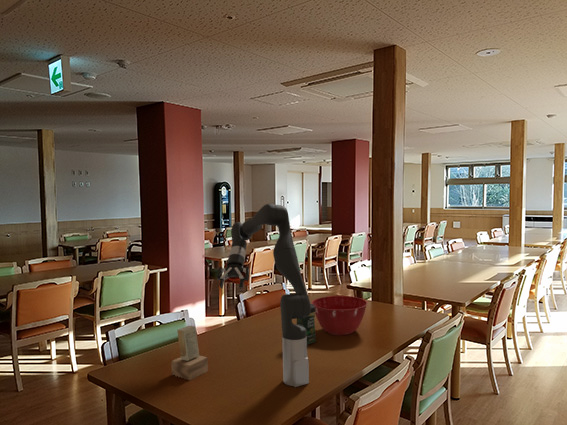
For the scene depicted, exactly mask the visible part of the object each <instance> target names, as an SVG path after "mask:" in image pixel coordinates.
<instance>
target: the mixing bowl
mask: <svg viewBox="0 0 567 425" xmlns="http://www.w3.org/2000/svg"><path fill="white" fill-rule="evenodd" d="M311 304H314V306H315V317H316V319H317V321H318V324H319V325H320V327H321V328H322V330H324V332H326V333H328V334H330V335H333V336H348V335H351V334H353V332H356V331H357V330H358V329H359V327H360V325H361V323H362V320H363V318H364V316H365V312H366V308H367V306H368V301H367V300H366V299H364V298H360V297H357V296H350V295H330V296H323V297H318V298H315V299H313V300H312V301H311Z"/></svg>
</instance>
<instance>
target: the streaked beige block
mask: <svg viewBox="0 0 567 425" xmlns="http://www.w3.org/2000/svg"><path fill="white" fill-rule="evenodd" d="M208 360H209V359H208V357H207V356H203V355H200V354H199V356H197V357H195V358H193V359H190V360H188V361H186V360H181V356H180V357H178V358H174V359H173V360H171V375H172V376H173V375H175V376H174V377H177V376H178V377H177V378H180V377H181V379H183V378H184V380H186V381H187V380H188V381H191V380H192V381H193V380H194V379H196V378H197V377H199V376H201V375H203V374H205V373H207V372H208V370H209V367H208V366H209V362H208Z"/></svg>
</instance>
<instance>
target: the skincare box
mask: <svg viewBox="0 0 567 425" xmlns="http://www.w3.org/2000/svg"><path fill="white" fill-rule="evenodd" d="M176 331H177V339H178V347H179V352H180V353H179V354H180V357H181V360H186V361H188V360H190V359H193V358H195V357H197V356H199V355H200V350H199V345H198V344H199V343H198V337H197V336H198V335H197V330H196V326H194V325H187V326H183V327H181V328H179V329H177V330H176Z"/></svg>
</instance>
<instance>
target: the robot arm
mask: <svg viewBox="0 0 567 425" xmlns="http://www.w3.org/2000/svg"><path fill="white" fill-rule="evenodd" d="M263 225H267V226H271V227H272V226H274V227H277V228H278V234H279V235H278V238H277V241H276V243H275V245H274V247H273V251H272V255H273V259H274V260H273V261H274V264H275V267H276V269H277V271H278V272H279V273H280V274H281V275H282V276H283V277H284V278H285V280H287V281H288V282H289V284H290V285H291V287H292V288H293V290H294V293H289V294H287V293H285V294H282V296H281V298H280V305H279V306H280V318H281V320H280V321H281V332H282V333H281V334H282V338H281V339H282V377H283V378H282V381H283V384H285V385H287V386H291V387H294V388H297V387H301V386H304V385H307V384H310V379H309V378H310V374H309V372H310V370H309V358H308V345H307V331H306V328H304V327H303V326H300V325H297V323H296V324H295V323H293V320H295V319H296V320H297V318H305V317H308V316H309V315H310V313H311V305H310V304H311V301H310V298H309V297H310V296H309V294H308V291H307V288H306V286H305V283H304V280H303V276H302V272H301V269H300V265H299V263H300V262H299V260H298V255H297V251H296V248H295V245H294V239H293V235H292V231H291V224H290V217H289V212H288V209H287V207H286V206H284V205H281V204H274V203H266V204H263V206H262V207H261V208H260V209H259V210H258V211H257V212H256V213H255V214H254V215H253V216H252V217H250V218H248V219H247V220H245V221H244V222H240V221H236V222H234V223H233V224H232V226H231V228H230V234H231V235H230V236H231V246H230V250H229V253H228V259H227V263H226V266H225V267H222V266H219V267H218V271H217V274H216V280H217V281H219V288H220V289H223V288H224V284H225V281H226V280H228V279H229V278H238V277H239V284H238V287H239V289H240V290H242V289H243V287H244V284H245V281H247V282H248V281H249V280H250V267H249V266H246V267H244V265H245V261H246V260H245V259H246V251H247V246H248V242H247V241H248V240H250V239H251V238H252V236H253V234H256V233H257V232H259V231H261V229H262V228H263ZM243 272H244V274H245V275H243Z"/></svg>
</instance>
